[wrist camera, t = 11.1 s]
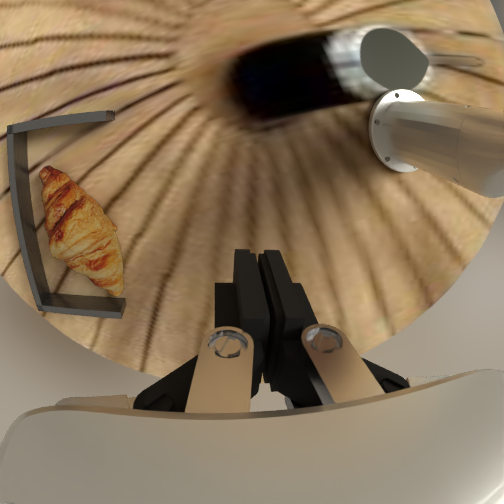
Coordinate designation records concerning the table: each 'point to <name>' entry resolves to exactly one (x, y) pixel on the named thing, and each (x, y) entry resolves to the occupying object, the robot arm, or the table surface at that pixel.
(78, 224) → the croissant
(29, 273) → the bent metal bracket
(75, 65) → the table surface
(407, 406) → the robot arm
